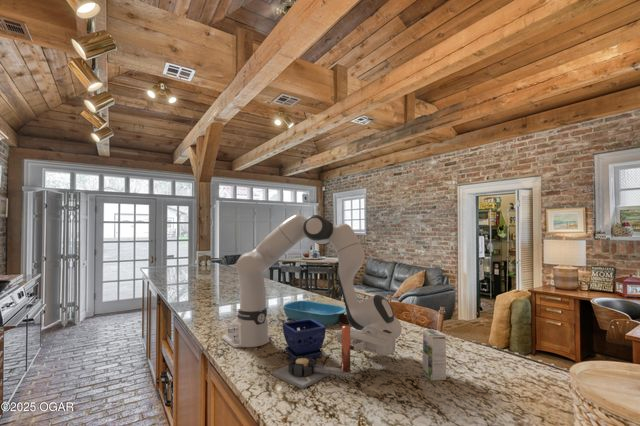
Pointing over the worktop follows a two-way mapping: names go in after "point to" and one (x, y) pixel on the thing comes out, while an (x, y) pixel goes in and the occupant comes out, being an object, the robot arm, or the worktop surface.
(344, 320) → the brown pine cone
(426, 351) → the syrup box
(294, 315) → the casserole dish
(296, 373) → the nut with spanner
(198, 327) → the worktop surface
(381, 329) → the robot arm
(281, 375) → the plate
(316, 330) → the flower pot
